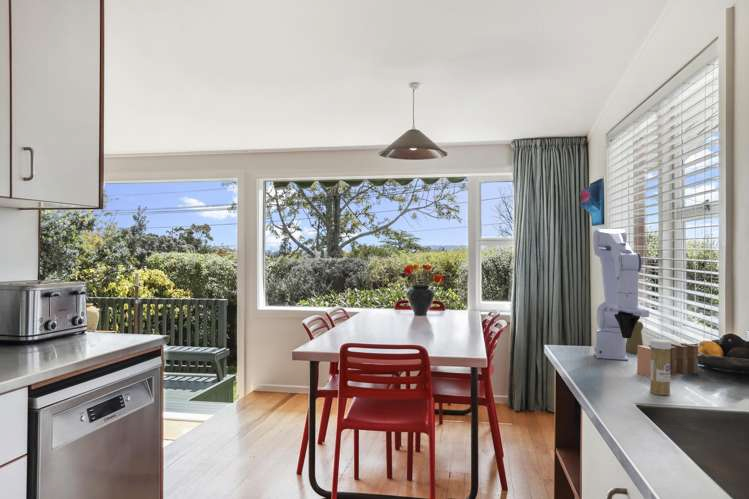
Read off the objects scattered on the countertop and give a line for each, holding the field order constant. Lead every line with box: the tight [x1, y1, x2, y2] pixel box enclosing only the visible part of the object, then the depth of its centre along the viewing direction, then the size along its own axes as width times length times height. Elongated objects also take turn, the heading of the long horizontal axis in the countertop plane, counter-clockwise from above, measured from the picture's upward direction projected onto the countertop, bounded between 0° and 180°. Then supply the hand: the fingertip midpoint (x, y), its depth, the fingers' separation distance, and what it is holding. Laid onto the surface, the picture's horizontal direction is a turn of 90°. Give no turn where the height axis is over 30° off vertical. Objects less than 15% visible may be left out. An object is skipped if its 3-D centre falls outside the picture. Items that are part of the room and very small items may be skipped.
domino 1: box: [636, 345, 651, 378], centre depth 145 cm, size 2×4×8 cm, turn 16°
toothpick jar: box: [649, 338, 672, 396], centre depth 127 cm, size 5×5×14 cm
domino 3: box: [671, 343, 688, 375], centre depth 149 cm, size 2×4×8 cm, turn 16°
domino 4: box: [680, 342, 699, 374], centre depth 150 cm, size 2×4×8 cm, turn 16°
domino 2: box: [670, 346, 677, 376], centre depth 147 cm, size 2×4×8 cm, turn 16°
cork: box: [626, 320, 644, 355], centre depth 176 cm, size 6×6×11 cm
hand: (626, 337), depth 152 cm, fingers closed
